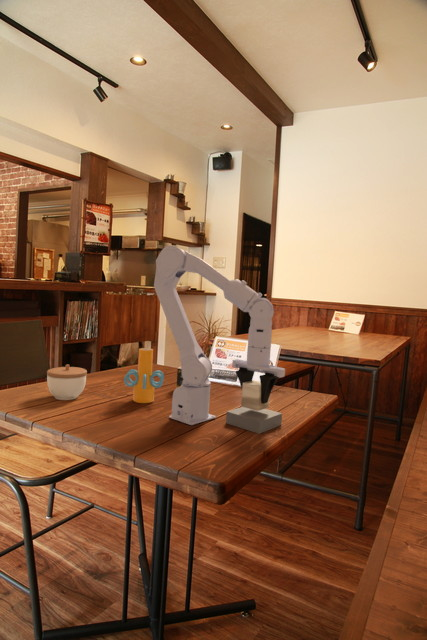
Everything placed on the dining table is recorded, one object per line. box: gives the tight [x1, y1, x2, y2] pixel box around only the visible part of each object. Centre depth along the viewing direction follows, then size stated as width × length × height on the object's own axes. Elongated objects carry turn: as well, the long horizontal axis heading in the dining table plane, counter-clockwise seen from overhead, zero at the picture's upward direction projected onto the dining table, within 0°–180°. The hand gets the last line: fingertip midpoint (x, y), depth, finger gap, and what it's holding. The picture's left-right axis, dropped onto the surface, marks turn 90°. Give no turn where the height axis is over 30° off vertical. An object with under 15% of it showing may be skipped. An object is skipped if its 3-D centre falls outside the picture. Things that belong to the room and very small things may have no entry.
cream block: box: [240, 379, 271, 411], centre depth 105 cm, size 5×5×6 cm
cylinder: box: [123, 347, 165, 404], centre depth 120 cm, size 12×10×15 cm
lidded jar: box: [46, 364, 88, 401], centre depth 119 cm, size 11×11×9 cm
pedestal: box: [225, 406, 283, 435], centre depth 105 cm, size 10×10×3 cm
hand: (255, 400), depth 105 cm, fingers closed on cream block, 5 cm apart
